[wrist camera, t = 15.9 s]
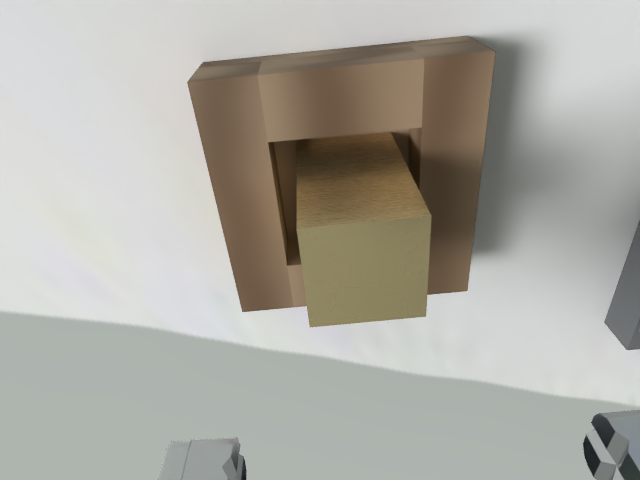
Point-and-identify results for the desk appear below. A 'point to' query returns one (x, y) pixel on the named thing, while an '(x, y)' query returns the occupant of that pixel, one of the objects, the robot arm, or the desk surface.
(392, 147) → the block
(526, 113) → the desk surface
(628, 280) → the block
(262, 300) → the brown square frame
